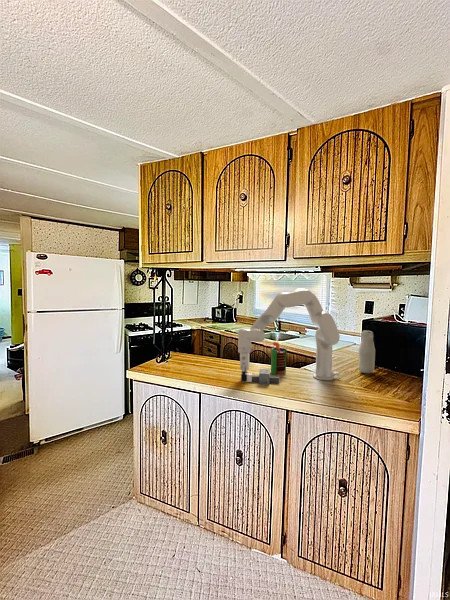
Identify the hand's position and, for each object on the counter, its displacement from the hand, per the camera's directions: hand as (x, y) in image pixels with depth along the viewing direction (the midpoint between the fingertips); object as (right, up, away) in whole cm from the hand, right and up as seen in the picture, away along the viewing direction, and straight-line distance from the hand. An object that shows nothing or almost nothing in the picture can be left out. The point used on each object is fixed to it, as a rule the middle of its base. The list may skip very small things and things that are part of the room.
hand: (244, 379), depth 198 cm
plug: (+10, -1, -1) cm, 10 cm away
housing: (+12, -1, -2) cm, 12 cm away
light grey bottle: (+81, 0, +18) cm, 83 cm away
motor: (+23, 0, +17) cm, 28 cm away
